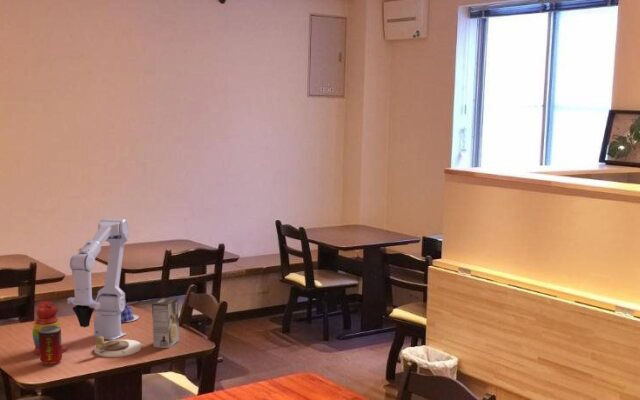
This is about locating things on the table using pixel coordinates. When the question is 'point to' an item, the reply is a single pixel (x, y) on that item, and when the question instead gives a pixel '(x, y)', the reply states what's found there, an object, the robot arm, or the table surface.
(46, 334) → the soda can
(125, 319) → the blue checkered cloth
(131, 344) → the base
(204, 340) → the table surface
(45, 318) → the stacking bear
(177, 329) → the coffee box
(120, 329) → the robot arm
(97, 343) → the dial
